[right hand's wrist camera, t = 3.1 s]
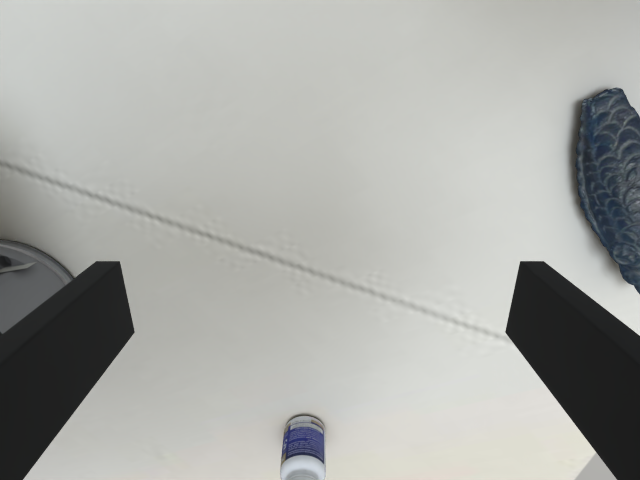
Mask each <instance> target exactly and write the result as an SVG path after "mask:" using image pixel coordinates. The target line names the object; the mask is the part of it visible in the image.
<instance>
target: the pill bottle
mask: <svg viewBox="0 0 640 480" xmlns="http://www.w3.org/2000/svg"><path fill="white" fill-rule="evenodd" d="M325 476H326V460H325V428H324V426H323V424H322V423H321V422H320V421H319V420H317V419H316V418H313V417H310V416H299V417H296V418H294V419H292V420H290V421H289V422H288V423H287V425H286V427H285V430H284V439H283V448H282V457H281V468H280V477H281V480H325Z"/></svg>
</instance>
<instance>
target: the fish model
mask: <svg viewBox="0 0 640 480" xmlns="http://www.w3.org/2000/svg"><path fill="white" fill-rule="evenodd" d="M581 109H582V115H581V117H580V120H581V127H580V130H579V133H578V135H579V138H580V139H579V142H578V144H577V148H576V153H577V155H578V156H577V159H576V165H575V167H576V168H577V171H578V173H577V181H578V183H579V186H578V191H579V196H580V197H581V204H580V206H581V208H582V209H583V210H584V211H585V217H586V219H587V220H588V221H589V222H590V223H591V224H592V229H593V231H595V232H596V234H597V235H598V236H599V238H600V240H601V242H602V243H603V246H605V247H606V248H607V250H608V251H609V254H610V256H611V257H612V258H613V259H614V260H615V261H616V262H617V263H618V264H619V267H620V271H621V274H622V276H623V279H624V280H625V281H626V282H628V283H629V284H631V285H634V287H635V288H636V290H637V291H638V293H639V294H640V117H639V115H638V113H637V112H636V111H635V109H634V108H633V107H631V106H630V104H629V102H628V100H627V97H626V95H625V94H624V92H623V90H622V89H620V88H613V89H610V90H608V89H607V90H604V91H603V92H601V93H599V94H598V95H596V96H595V97H594V98H589V99H584V100H583V103H582V108H581Z"/></svg>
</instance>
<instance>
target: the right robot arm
mask: <svg viewBox="0 0 640 480" xmlns="http://www.w3.org/2000/svg"><path fill="white" fill-rule="evenodd" d="M133 334H134V327H133V322H132V318H131V313H130V308H129V303H128V299H127V294H126V289H125V284H124V279H123V275H122V270H121V265H120V261H96V262H95V263H94V264H92V265H91V266H90V267H88V268H87V269H86V270H85V271H83V272H82V273H81V274H79V275H78V276H77V277H76V278H73V277H72V276H71V275H70V274H69V273H68V272H67V271H66V269H65V268H64V267H62V266H61V265H60V264H59V263H58V262H56V261H55V260H54V259H52V258H51V257H49V256H48V255H46V254H45V253H43V252H41V251H39V250H37V249H35V248H33V247H30V246H28V245H25V244H22V243H18V242H14V241H8V240H0V480H23V479H24V477H25V476H26V475H27V473H28V472H29V471H30V469H31V468H32V467H33V466H34V464H35V463H36V462H37V460H38V459H39V458H40V456H41V455H42V454H43V452H44V451H45V450H46V448H47V447H48V446H49V444H50V443H51V442H52V440H53V439H54V438H55V437H56V435H57V434H58V433H59V431H60V430H61V429H62V427H63V426H64V425H65V423H66V422H67V421H68V419H69V418H70V417H71V415H72V414H73V413H74V411H75V410H76V409H77V408H78V406H79V405H80V404H81V402H82V401H83V400H84V398H85V397H86V396H87V394H88V393H89V392H90V390H91V389H92V388H93V386H94V385H95V384H96V382H97V381H98V380H99V379H100V377H101V376H102V375H103V373H104V372H105V371H106V369H107V368H108V367H109V365H110V364H111V363H112V361H113V360H114V359H115V357H116V356H117V355H118V353H119V352H120V351H121V350H122V348H123V347H124V346H125V344H126V343H127V342H128V340H129V339H130V338H131V336H132V335H133ZM506 334H507V335H508V336H509V338H510V339H511V340H512V342H513V343H514V344H515V346H516V347H517V348H518V350H519V351H520V352H521V353H522V355H523V356H524V357H525V359H526V360H527V361H528V363H529V364H530V365H531V367H532V368H533V369H534V371H535V372H536V373H537V375H538V376H539V377H540V379H541V380H542V381H543V382H544V384H545V385H546V386H547V388H548V389H549V390H550V392H551V393H552V394H553V396H554V397H555V398H556V400H557V401H558V402H559V404H560V405H561V406H562V408H563V409H564V410H565V411H566V413H567V414H568V415H569V417H570V418H571V419H572V421H573V422H574V423H575V425H576V426H577V427H578V429H579V430H580V431H581V433H582V434H583V435H584V437H585V438H586V439H587V440H588V442H589V443H590V444H591V446H592V447H593V448H594V450H595V451H596V452H597V454H598V455H599V456H600V458H601V459H602V460H603V462H604V463H605V464H606V466H607V467H608V468H609V469H610V471H611V472H612V473H613V475H614V476H615V477H616V479H617V480H640V336H639V335H638V334H637V333H635V332H634V331H633V330H631V329H630V328H629V327H628V326H626V325H625V324H624V323H622V322H621V321H620V320H619V319H617V318H616V317H615V316H613V315H612V314H611V313H610V312H608V311H607V310H606V309H604V308H603V307H602V306H600V305H599V304H598V303H597V302H595V301H594V300H593V299H591V298H590V297H589V296H588V295H586V294H585V293H584V292H582V291H581V290H580V289H579V288H577V287H576V286H575V285H573V284H572V283H571V282H570V281H568V280H567V279H566V278H564V277H563V276H562V275H561V274H559V273H558V272H557V271H555V270H554V269H553V268H552V267H550V266H549V265H548V264H546V263H545V262H544V261H520V265H519V270H518V275H517V279H516V284H515V289H514V294H513V299H512V303H511V308H510V313H509V318H508V322H507V327H506Z"/></svg>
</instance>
